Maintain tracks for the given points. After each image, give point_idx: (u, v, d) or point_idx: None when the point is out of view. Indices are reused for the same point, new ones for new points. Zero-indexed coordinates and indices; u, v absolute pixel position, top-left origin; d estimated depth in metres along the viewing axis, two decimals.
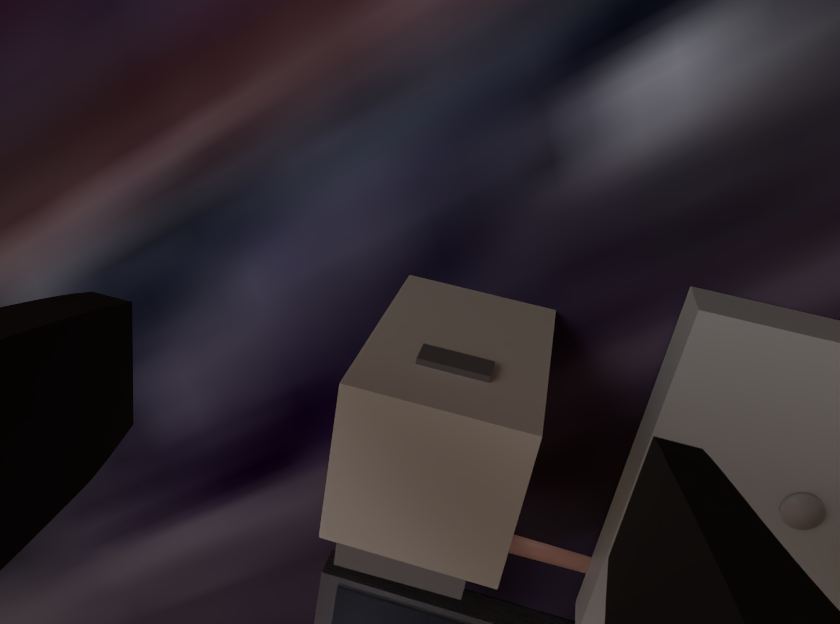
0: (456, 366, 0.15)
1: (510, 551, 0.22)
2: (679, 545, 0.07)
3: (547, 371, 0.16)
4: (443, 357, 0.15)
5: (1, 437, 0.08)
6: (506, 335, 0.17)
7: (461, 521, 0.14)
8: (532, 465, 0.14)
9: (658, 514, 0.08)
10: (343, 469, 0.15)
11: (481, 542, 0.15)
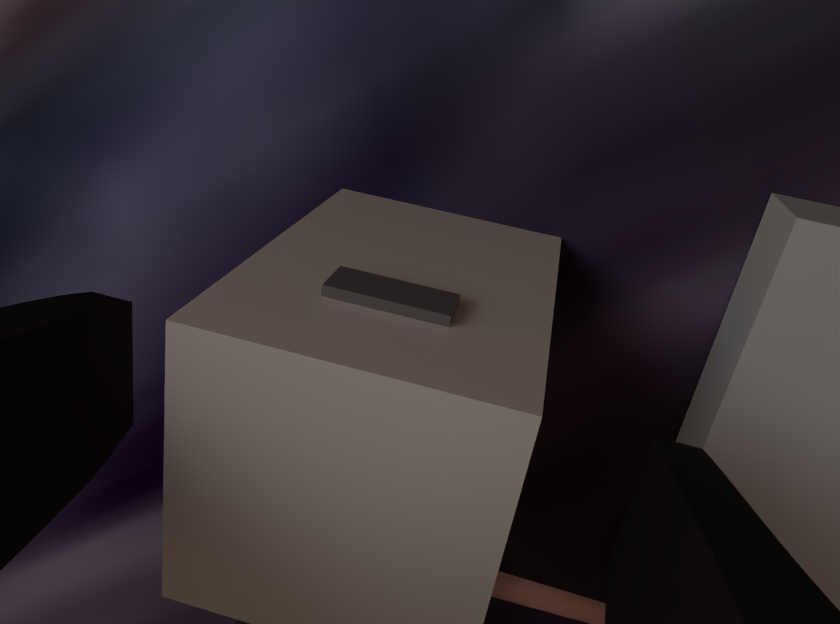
0: (391, 299, 0.08)
1: (496, 595, 0.16)
2: (679, 545, 0.07)
3: (550, 314, 0.09)
4: (370, 285, 0.09)
5: (2, 437, 0.08)
6: (484, 264, 0.11)
7: (398, 572, 0.08)
8: (523, 472, 0.07)
9: (658, 514, 0.08)
10: (189, 480, 0.08)
11: (434, 609, 0.08)
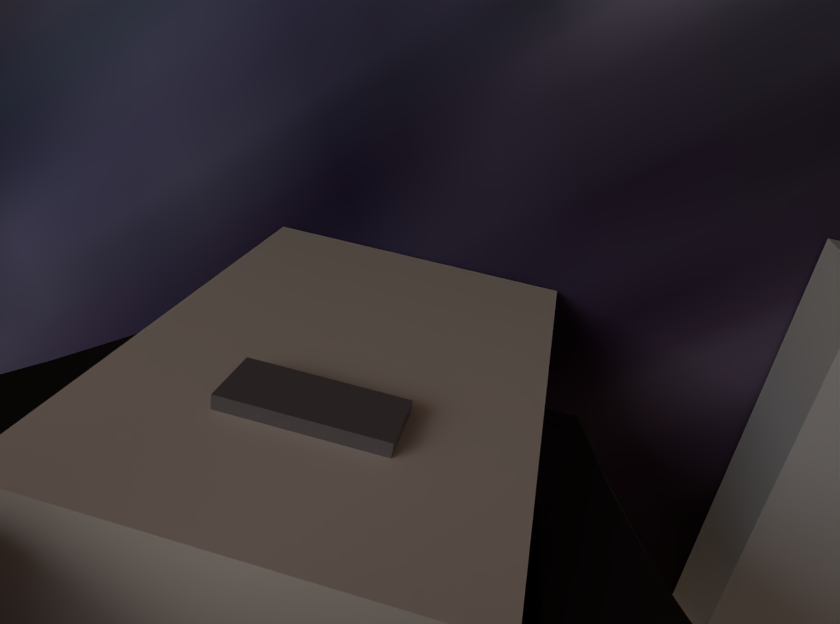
0: (309, 415, 0.06)
1: None
2: None
3: (538, 422, 0.07)
4: (283, 392, 0.06)
5: None
6: (453, 338, 0.08)
7: None
8: None
9: None
10: None
11: None
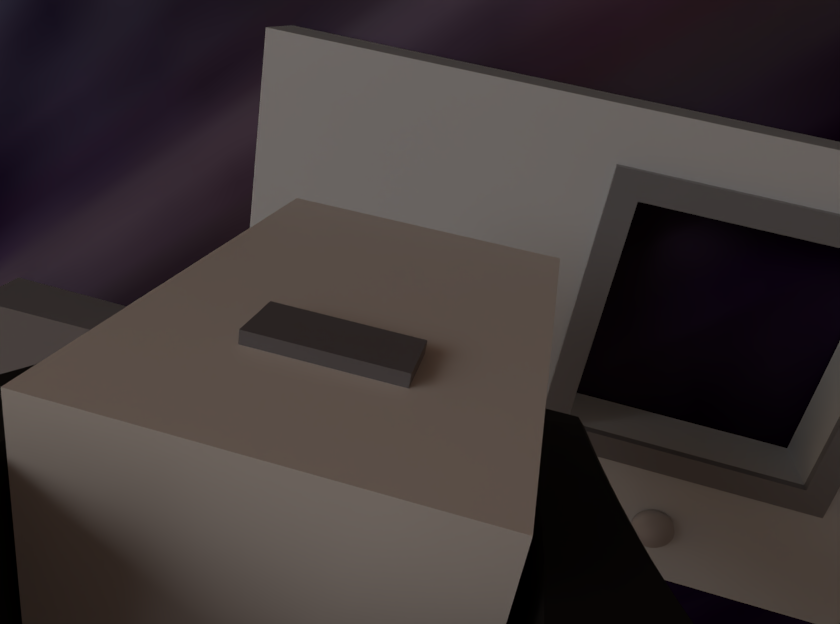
0: (332, 349, 0.06)
1: None
2: None
3: (545, 364, 0.07)
4: (306, 330, 0.07)
5: None
6: (463, 294, 0.08)
7: None
8: (507, 609, 0.05)
9: None
10: (53, 598, 0.06)
11: None
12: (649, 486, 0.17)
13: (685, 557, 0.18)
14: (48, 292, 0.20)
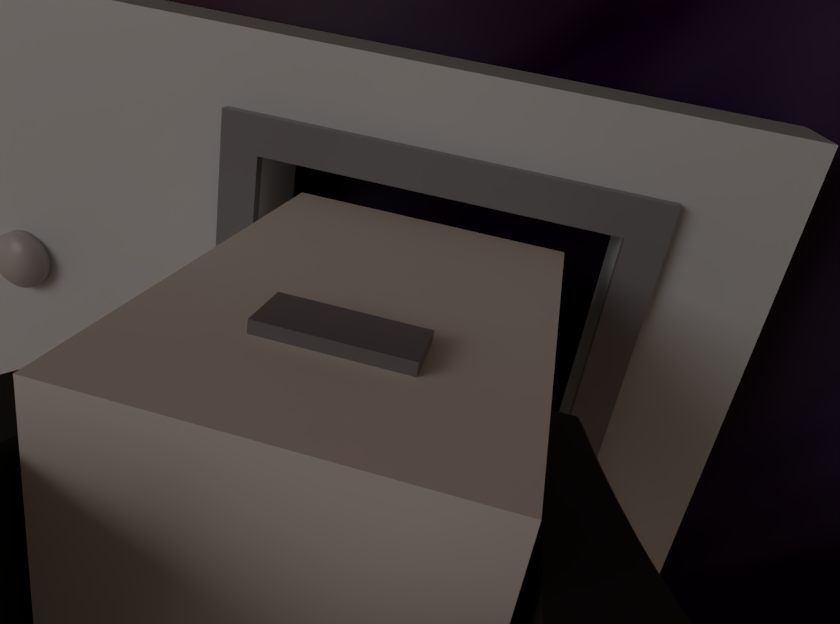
0: (339, 338, 0.06)
1: None
2: None
3: (551, 354, 0.07)
4: (314, 319, 0.07)
5: None
6: (469, 286, 0.08)
7: None
8: (515, 593, 0.05)
9: None
10: (63, 584, 0.06)
11: None
12: None
13: None
14: None
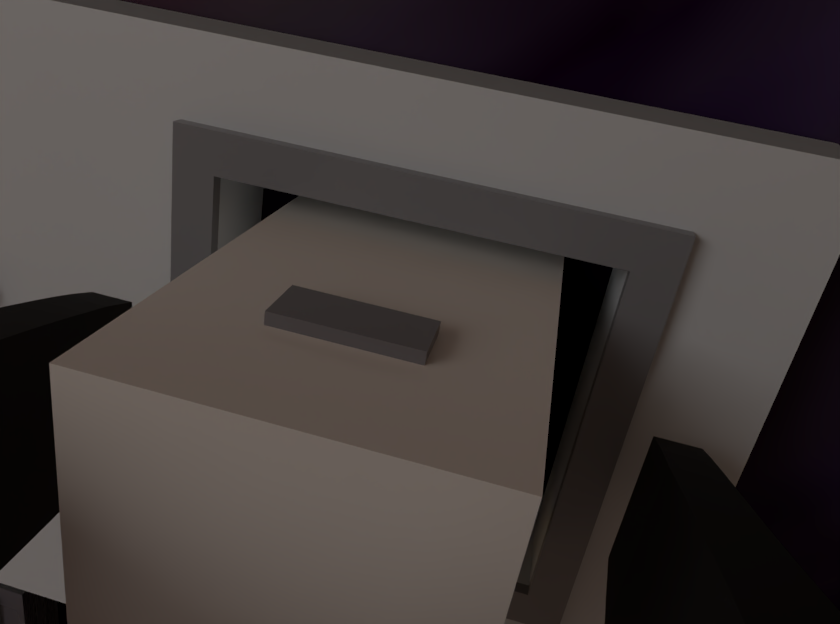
0: (352, 329, 0.07)
1: None
2: (679, 545, 0.07)
3: (552, 343, 0.07)
4: (327, 311, 0.07)
5: (2, 437, 0.08)
6: (472, 279, 0.09)
7: None
8: (518, 565, 0.05)
9: (658, 514, 0.08)
10: (94, 560, 0.06)
11: None
12: None
13: None
14: None
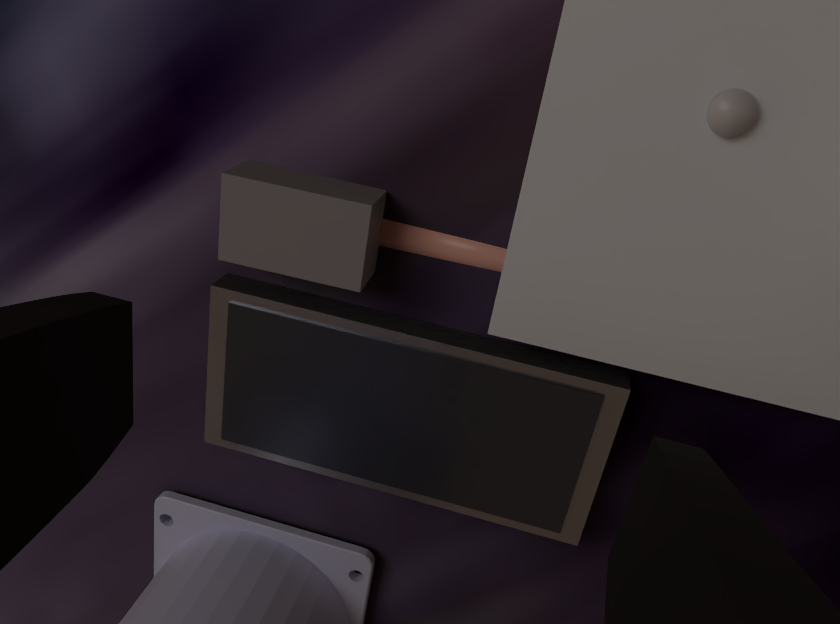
0: None
1: (419, 249, 0.20)
2: (679, 545, 0.07)
3: None
4: None
5: (2, 436, 0.08)
6: None
7: None
8: None
9: (658, 514, 0.08)
10: None
11: None
12: None
13: None
14: (285, 171, 0.19)
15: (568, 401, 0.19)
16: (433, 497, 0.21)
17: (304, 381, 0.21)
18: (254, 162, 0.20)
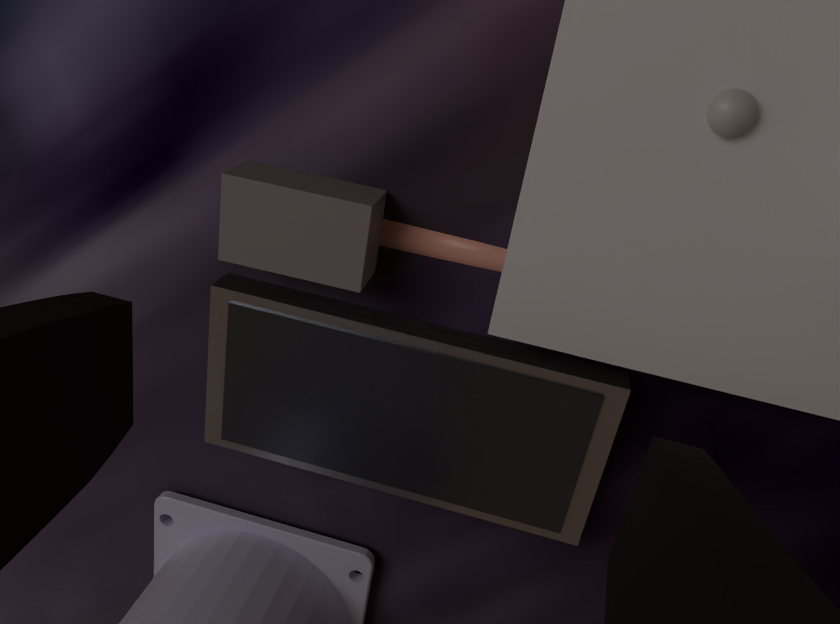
0: None
1: (419, 249, 0.20)
2: (679, 545, 0.07)
3: None
4: None
5: (2, 437, 0.08)
6: None
7: None
8: None
9: (658, 514, 0.08)
10: None
11: None
12: None
13: None
14: (285, 172, 0.19)
15: (567, 401, 0.19)
16: (433, 497, 0.21)
17: (304, 381, 0.21)
18: (254, 162, 0.20)
